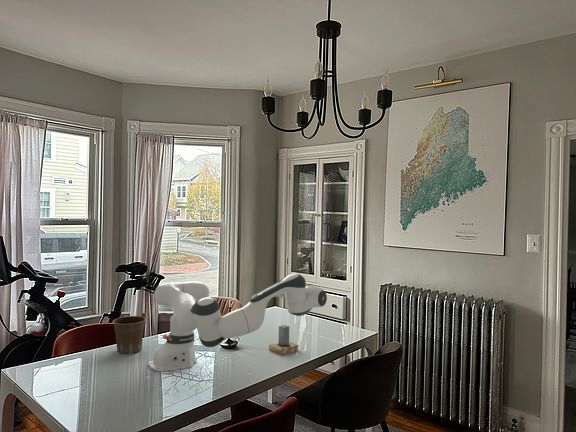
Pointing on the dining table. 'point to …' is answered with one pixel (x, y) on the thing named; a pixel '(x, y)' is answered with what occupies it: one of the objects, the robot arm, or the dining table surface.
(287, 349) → the well block
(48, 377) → the dining table surface
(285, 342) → the post
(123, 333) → the plant pot
